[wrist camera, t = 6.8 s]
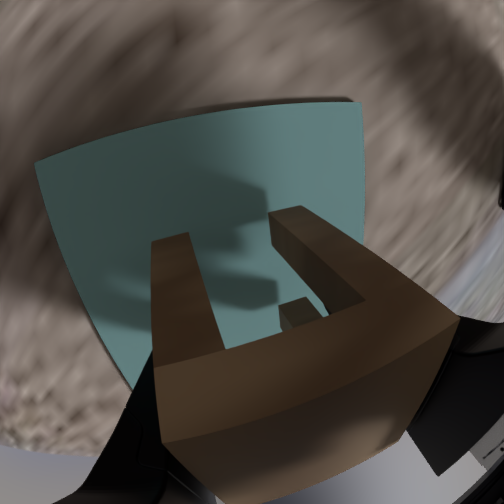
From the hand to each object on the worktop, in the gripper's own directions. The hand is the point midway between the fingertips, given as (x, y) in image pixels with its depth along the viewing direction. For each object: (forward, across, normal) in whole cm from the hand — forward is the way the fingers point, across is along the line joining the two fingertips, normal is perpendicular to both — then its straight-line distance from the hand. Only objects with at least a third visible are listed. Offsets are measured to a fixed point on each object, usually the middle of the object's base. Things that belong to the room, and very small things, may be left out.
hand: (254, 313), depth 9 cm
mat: (+3, 0, 0) cm, 3 cm away
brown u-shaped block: (+2, 0, 0) cm, 2 cm away
